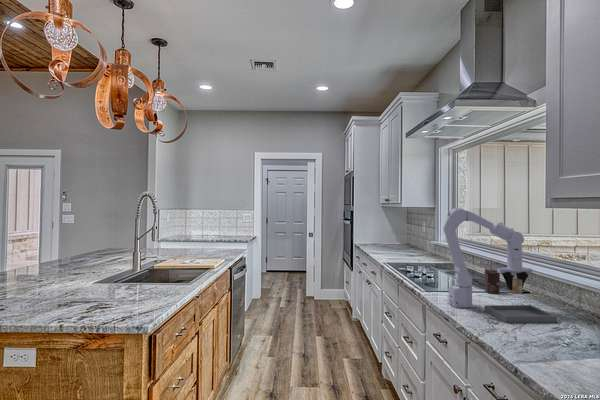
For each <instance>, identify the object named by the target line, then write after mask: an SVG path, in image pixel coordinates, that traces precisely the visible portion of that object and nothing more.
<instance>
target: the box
mask: <svg viewBox="0 0 600 400" xmlns="http://www.w3.org/2000/svg"><path fill="white" fill-rule="evenodd" d="M500 275H501V273H497V268H484V292H485V293H486V292H487V293H486V294H500V286H501V285H500V284H501V283H500V282H501V281H500V279H501V278H500V277H501V276H500Z"/></svg>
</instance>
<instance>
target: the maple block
mask: <svg viewBox="0 0 600 400" xmlns="http://www.w3.org/2000/svg"><path fill="white" fill-rule="evenodd" d="M507 293H509V294H513V295H522V294H523V289H522V280H521V279H517V277H513V280H512V290H509V289H508V288H507Z"/></svg>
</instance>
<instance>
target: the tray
mask: <svg viewBox="0 0 600 400" xmlns="http://www.w3.org/2000/svg"><path fill="white" fill-rule="evenodd" d="M484 312H485V313H487V314H489V315H491V316H493V317H494V318H496V319H498V320H499V321H501V322H503V323H506V324H546V323H547V324H548V323H549V324H552V323H553V324H555V323H556V324H557V323H558V316H557V315H555V314H553V313H551V312H548V311H545V310H543V309H541V308H539V307H535V306H534V305H532V304H505V305H504V304H492V305H491V304H490V305H489V304H484Z"/></svg>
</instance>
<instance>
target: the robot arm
mask: <svg viewBox="0 0 600 400" xmlns="http://www.w3.org/2000/svg"><path fill="white" fill-rule="evenodd" d="M463 222H473V223H475V224H477V225H480V226H482V227H484V228H486V229H488V230H489V233H490V234H491V235H494V236H496V237H497V238H500V239H501V240H504V241H506V242H507V244H506V247H507V248H506V249H507V250H506V251H507V252H506V253H507V254H506V257H507V259H506V264H507V265H506V267H498V268H496V269H497V273H500V274H501V276H502V277H503V279H504V281H505V284H506V287H507V290H508V289H509V290H512V280H513V278H514V275H513V274H515V275H516V278H517V279H521V280H522V290H523V288H524V284H525V282H526V280H527V278H528V277H529V274H533V268H530V267H523V243H524V241H525V238H524V235H523V234H522V233H521V232H519V231H516V230H515V229H514V228H513V227H508V226H506V225H504V222H501V221H500V222H498V221H495V222H491V221H490V220H487V219H486V218H484V217H482V216H480V215H478V214H476V213H474V212H471V211H469V210H466V209H463V208H458V207H454V208H452V209H450V211H449V212H448V213H447V214H446V218H445V221H444V224H443V228H442V229H443V233H444V235H445V239H446V243H447V246H448V250H449V253H450V256H451V260H452V263H453V270H454V275H453V276H454V279H455V280H456V281H455V282H454V285H450V286H449V287H448V301H447V303H448V304H449V305H451V306H452V307H454V308H477V306H476V305H474V304H473V285H472V284H473V280H474V279H473V278H474V277H472V275H471V274H470V273H469V271H468V270H469V269H468V267H467V265H466V263H465V259H464V255H463V252H462V248H461V245H460V242H459V240H458V239H459V238H458V235H457V232H456V230H457V229H458V227H459V226H460V225H461V224H463Z"/></svg>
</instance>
